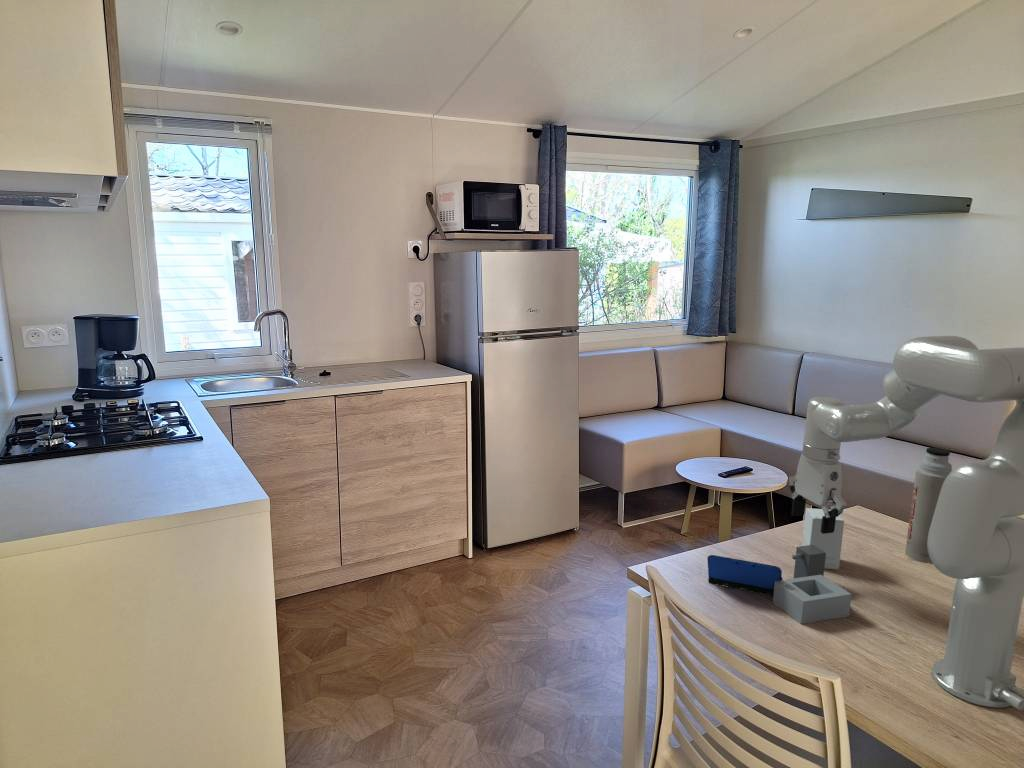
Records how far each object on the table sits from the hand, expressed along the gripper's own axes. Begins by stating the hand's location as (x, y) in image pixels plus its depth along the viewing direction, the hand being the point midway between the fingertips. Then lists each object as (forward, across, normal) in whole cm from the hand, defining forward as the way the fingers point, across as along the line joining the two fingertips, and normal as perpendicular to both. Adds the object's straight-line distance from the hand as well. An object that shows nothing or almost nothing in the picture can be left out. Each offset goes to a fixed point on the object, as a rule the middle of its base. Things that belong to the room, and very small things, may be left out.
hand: (812, 523), depth 154 cm
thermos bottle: (+14, +3, -38) cm, 41 cm away
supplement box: (+14, +7, -10) cm, 19 cm away
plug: (+14, -1, +1) cm, 14 cm away
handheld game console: (+15, +1, +15) cm, 21 cm away
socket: (+14, -11, +8) cm, 20 cm away
